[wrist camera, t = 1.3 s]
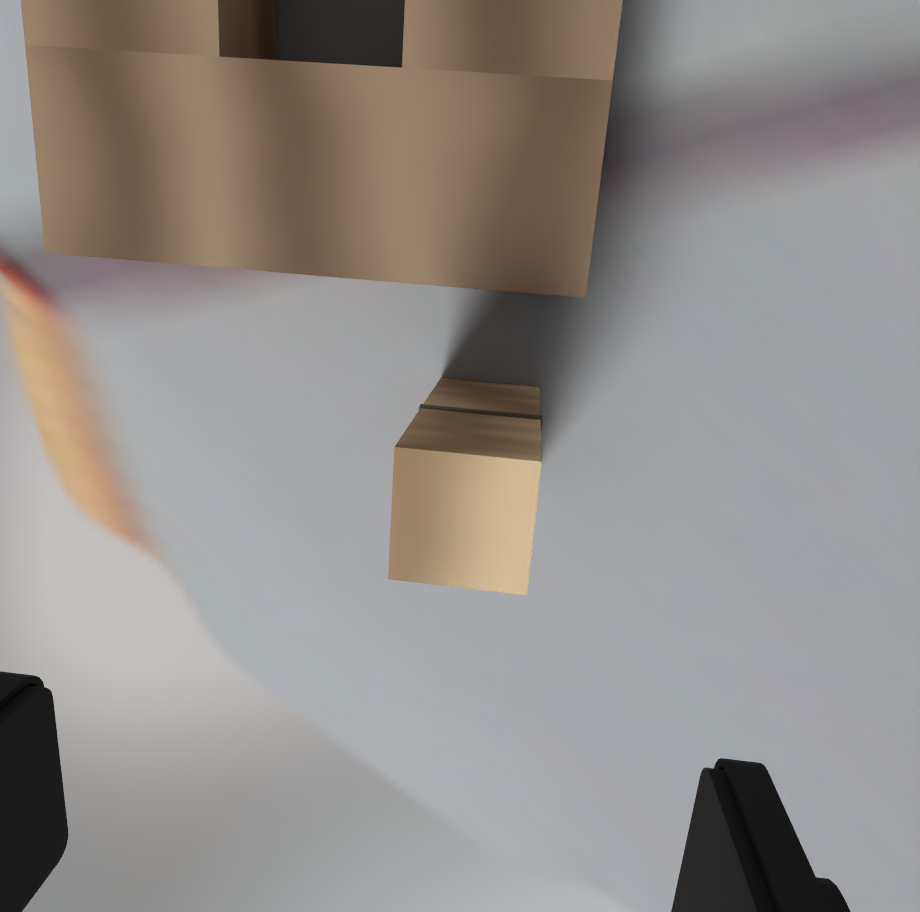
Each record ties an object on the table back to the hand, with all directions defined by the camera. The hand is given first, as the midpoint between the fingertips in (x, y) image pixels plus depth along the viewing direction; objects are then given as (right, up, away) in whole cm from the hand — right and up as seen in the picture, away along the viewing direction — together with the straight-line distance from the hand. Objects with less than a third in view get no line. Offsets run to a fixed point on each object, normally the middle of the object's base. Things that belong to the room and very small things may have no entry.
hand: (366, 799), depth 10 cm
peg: (+2, +6, +19) cm, 20 cm away
